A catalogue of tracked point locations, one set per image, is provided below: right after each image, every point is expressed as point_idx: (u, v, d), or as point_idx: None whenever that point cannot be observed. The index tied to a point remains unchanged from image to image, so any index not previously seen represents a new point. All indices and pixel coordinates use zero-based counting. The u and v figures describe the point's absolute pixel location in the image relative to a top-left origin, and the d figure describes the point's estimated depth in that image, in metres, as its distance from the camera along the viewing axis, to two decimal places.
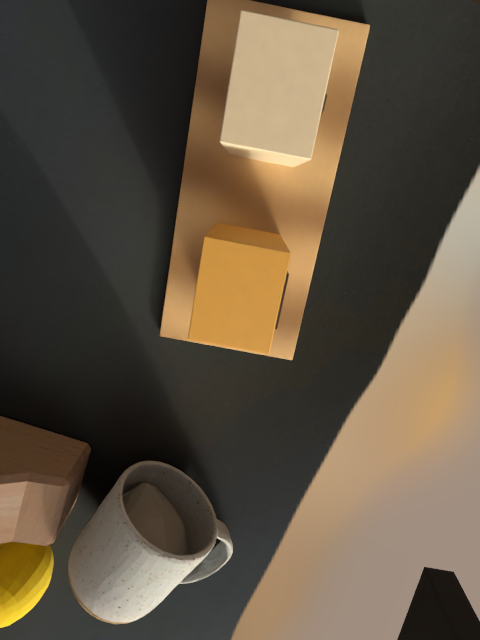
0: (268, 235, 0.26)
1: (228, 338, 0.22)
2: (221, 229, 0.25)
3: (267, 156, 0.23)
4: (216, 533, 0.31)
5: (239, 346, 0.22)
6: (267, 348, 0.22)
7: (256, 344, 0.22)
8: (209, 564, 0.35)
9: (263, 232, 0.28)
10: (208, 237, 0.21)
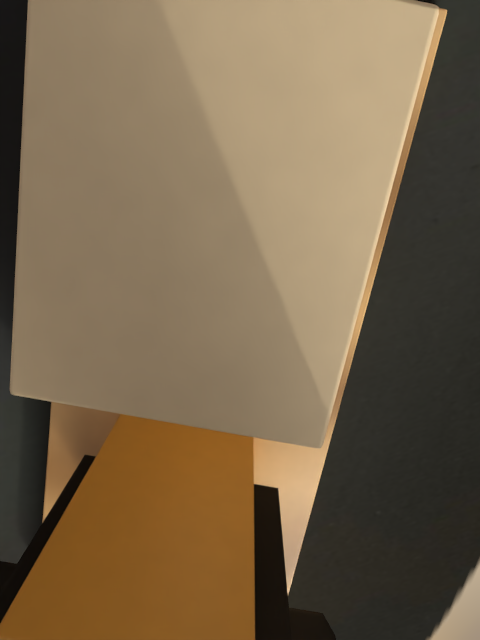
0: (224, 452, 0.13)
1: None
2: (110, 472, 0.11)
3: None
4: None
5: None
6: None
7: None
8: None
9: None
10: (7, 636, 0.07)
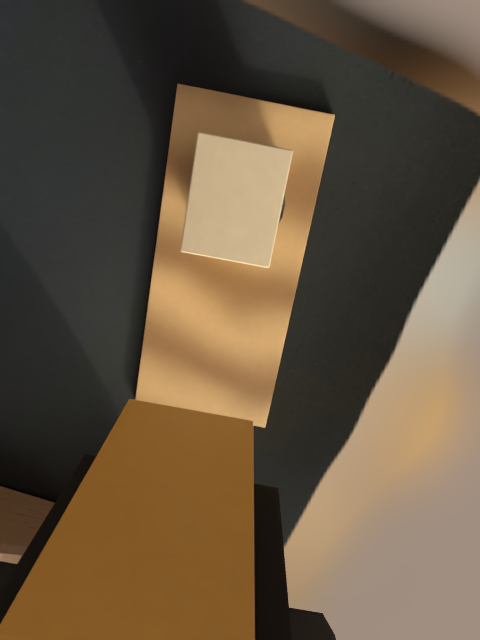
0: (224, 452, 0.13)
1: None
2: (110, 472, 0.11)
3: None
4: None
5: None
6: None
7: None
8: None
9: (218, 427, 0.14)
10: (8, 635, 0.07)
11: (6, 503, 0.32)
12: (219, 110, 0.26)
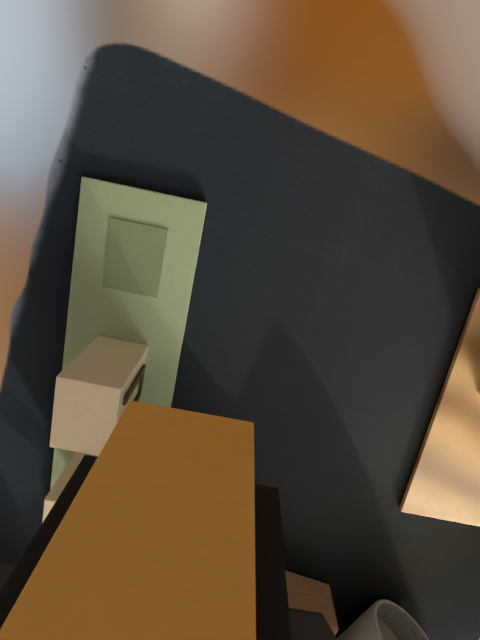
0: (224, 454, 0.13)
1: None
2: (111, 474, 0.11)
3: None
4: None
5: None
6: None
7: None
8: None
9: (218, 429, 0.14)
10: (9, 639, 0.07)
11: (292, 584, 0.40)
12: None
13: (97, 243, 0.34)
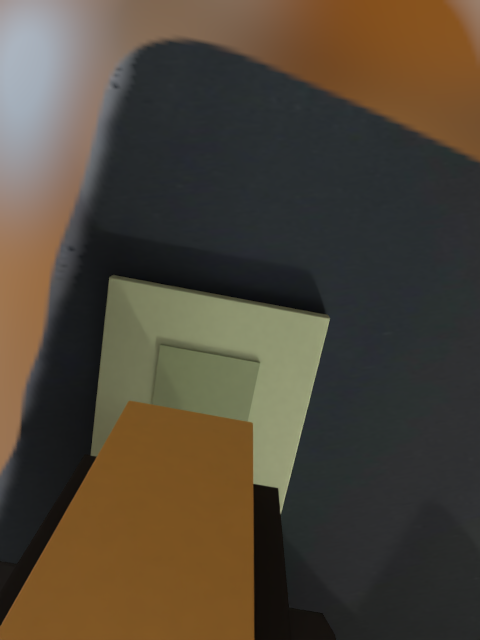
0: (223, 454, 0.13)
1: None
2: (110, 474, 0.11)
3: None
4: None
5: None
6: None
7: None
8: None
9: (217, 429, 0.14)
10: (7, 639, 0.07)
11: None
12: None
13: (136, 385, 0.20)
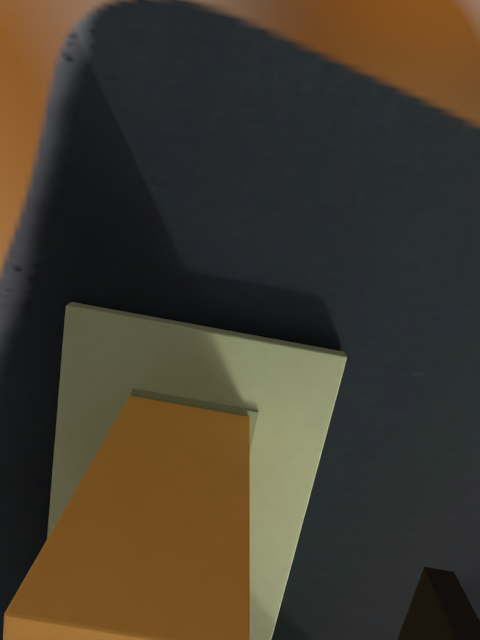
0: (221, 446, 0.13)
1: None
2: (112, 465, 0.11)
3: None
4: None
5: None
6: None
7: None
8: None
9: (215, 423, 0.14)
10: (17, 613, 0.07)
11: None
12: None
13: (103, 438, 0.16)
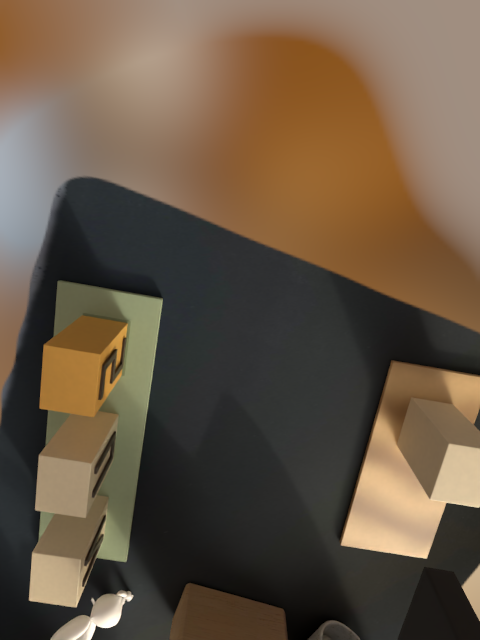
0: (111, 328, 0.38)
1: (65, 407, 0.33)
2: (72, 328, 0.36)
3: None
4: None
5: (73, 412, 0.34)
6: (92, 413, 0.34)
7: (84, 411, 0.34)
8: None
9: (112, 323, 0.39)
10: (46, 345, 0.32)
11: (250, 611, 0.47)
12: (417, 376, 0.41)
13: None
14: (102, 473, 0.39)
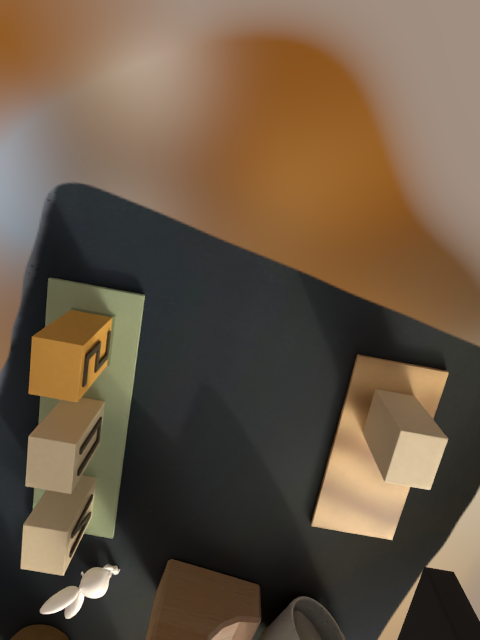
0: (96, 322, 0.41)
1: (52, 393, 0.37)
2: (60, 321, 0.40)
3: None
4: None
5: (59, 398, 0.37)
6: (76, 399, 0.37)
7: (69, 396, 0.37)
8: None
9: (98, 317, 0.43)
10: (34, 336, 0.36)
11: (227, 585, 0.51)
12: (381, 369, 0.44)
13: None
14: (88, 454, 0.43)
